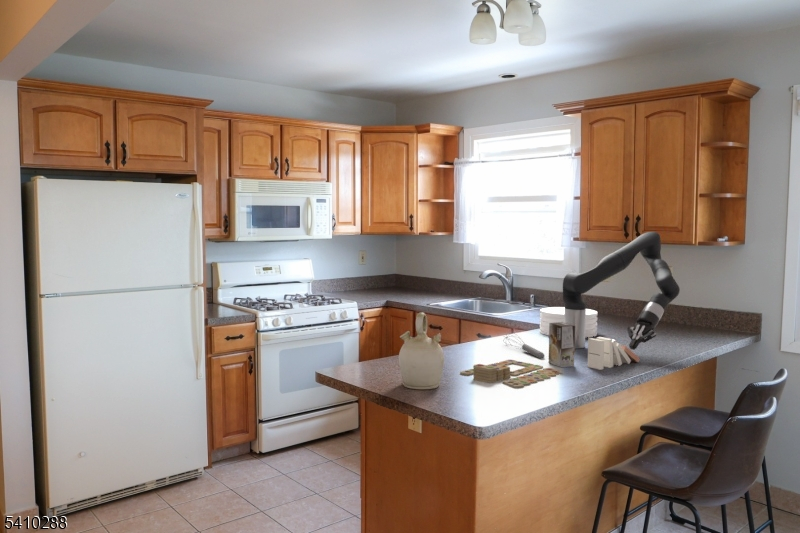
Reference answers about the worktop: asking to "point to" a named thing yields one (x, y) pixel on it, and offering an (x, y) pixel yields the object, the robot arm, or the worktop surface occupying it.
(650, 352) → the worktop surface
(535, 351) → the kitchen whisk
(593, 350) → the ivory tile
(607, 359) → the ivory tile
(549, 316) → the plate stack
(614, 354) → the ivory tile
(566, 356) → the coffee box
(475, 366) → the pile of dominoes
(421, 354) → the jug
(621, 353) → the ivory tile
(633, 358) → the rust tile
